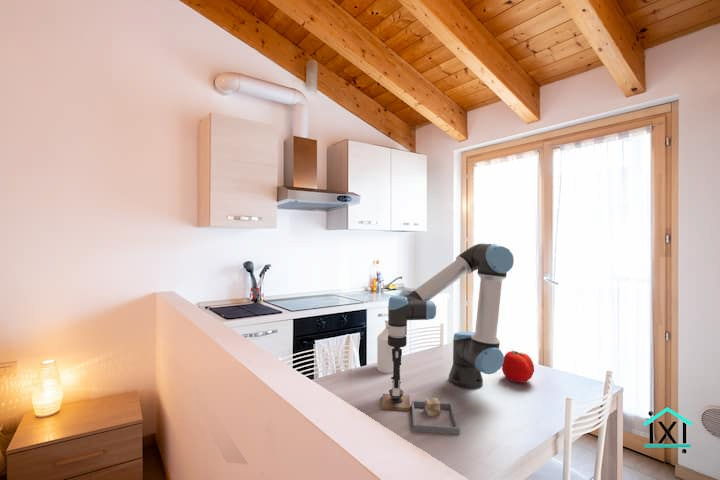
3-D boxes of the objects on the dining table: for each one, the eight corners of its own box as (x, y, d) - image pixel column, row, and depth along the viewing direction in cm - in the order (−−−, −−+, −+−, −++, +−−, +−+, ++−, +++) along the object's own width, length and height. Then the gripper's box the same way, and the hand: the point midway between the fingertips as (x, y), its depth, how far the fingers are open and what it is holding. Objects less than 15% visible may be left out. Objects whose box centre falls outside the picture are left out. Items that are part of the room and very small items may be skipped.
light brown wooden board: (409, 398, 147) (409, 395, 147) (410, 411, 136) (410, 408, 136) (382, 396, 148) (382, 393, 148) (381, 409, 138) (381, 406, 137)
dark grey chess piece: (390, 404, 139) (390, 373, 139) (387, 397, 145) (388, 368, 145) (404, 403, 140) (405, 373, 140) (401, 397, 146) (402, 367, 145)
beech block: (436, 409, 138) (436, 398, 138) (439, 415, 134) (440, 403, 134) (425, 409, 138) (425, 398, 138) (428, 415, 133) (428, 403, 133)
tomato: (497, 374, 175) (497, 346, 175) (525, 375, 175) (526, 347, 174) (509, 387, 159) (510, 357, 159) (540, 388, 159) (541, 358, 159)
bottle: (384, 362, 188) (385, 315, 188) (404, 368, 181) (405, 319, 181) (372, 369, 178) (373, 319, 178) (392, 375, 171) (393, 323, 171)
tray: (451, 408, 139) (451, 403, 139) (459, 434, 121) (459, 428, 121) (411, 405, 141) (411, 400, 141) (413, 430, 123) (413, 425, 122)
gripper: (388, 326, 155) (387, 375, 155) (386, 344, 130) (385, 401, 130) (406, 327, 154) (405, 376, 154) (407, 345, 129) (406, 403, 129)
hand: (396, 388), depth 142 cm, fingers open, 13 cm apart
